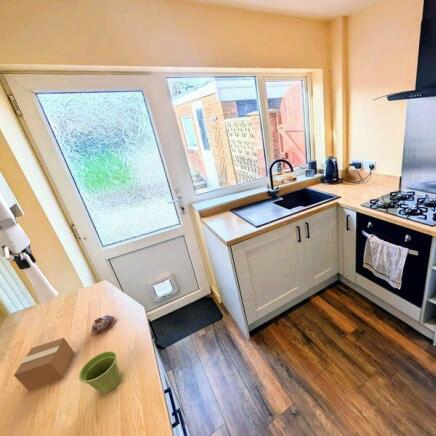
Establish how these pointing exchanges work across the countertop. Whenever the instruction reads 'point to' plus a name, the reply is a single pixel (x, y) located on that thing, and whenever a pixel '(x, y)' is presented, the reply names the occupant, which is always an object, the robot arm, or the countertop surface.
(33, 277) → the cosmetic bottle
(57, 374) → the box
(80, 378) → the plant pot
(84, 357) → the countertop surface
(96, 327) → the pastry
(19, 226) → the robot arm
